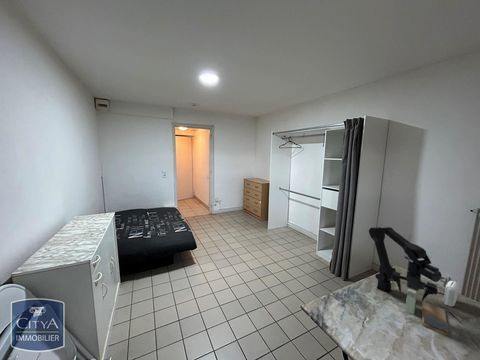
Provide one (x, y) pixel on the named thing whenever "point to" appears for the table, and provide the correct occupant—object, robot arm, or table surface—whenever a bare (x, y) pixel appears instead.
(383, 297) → the table surface
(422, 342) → the table surface
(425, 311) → the shelf board
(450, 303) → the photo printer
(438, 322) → the bookend
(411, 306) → the book
